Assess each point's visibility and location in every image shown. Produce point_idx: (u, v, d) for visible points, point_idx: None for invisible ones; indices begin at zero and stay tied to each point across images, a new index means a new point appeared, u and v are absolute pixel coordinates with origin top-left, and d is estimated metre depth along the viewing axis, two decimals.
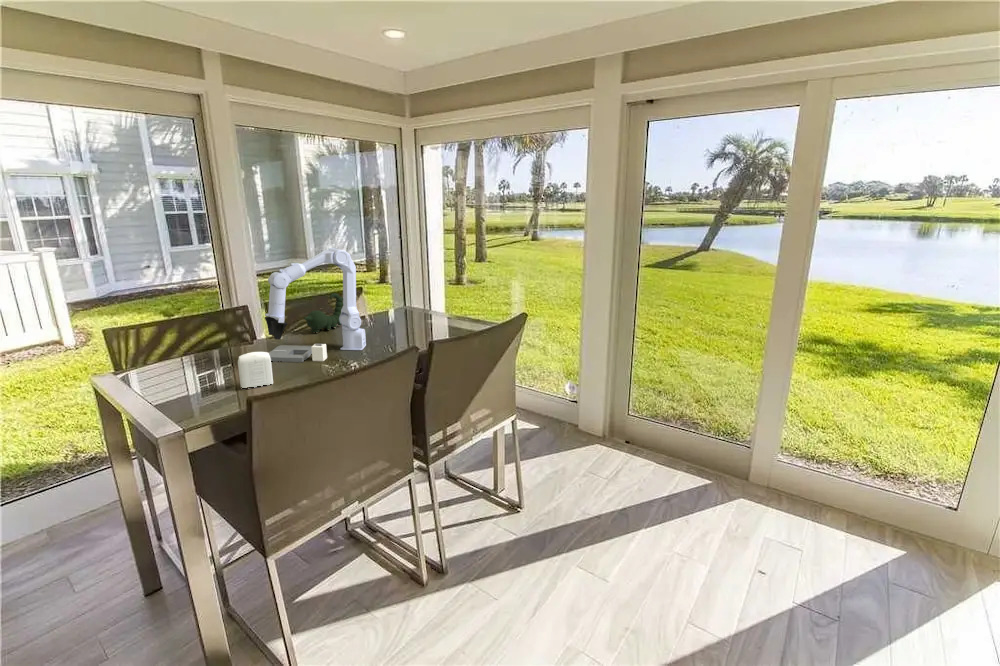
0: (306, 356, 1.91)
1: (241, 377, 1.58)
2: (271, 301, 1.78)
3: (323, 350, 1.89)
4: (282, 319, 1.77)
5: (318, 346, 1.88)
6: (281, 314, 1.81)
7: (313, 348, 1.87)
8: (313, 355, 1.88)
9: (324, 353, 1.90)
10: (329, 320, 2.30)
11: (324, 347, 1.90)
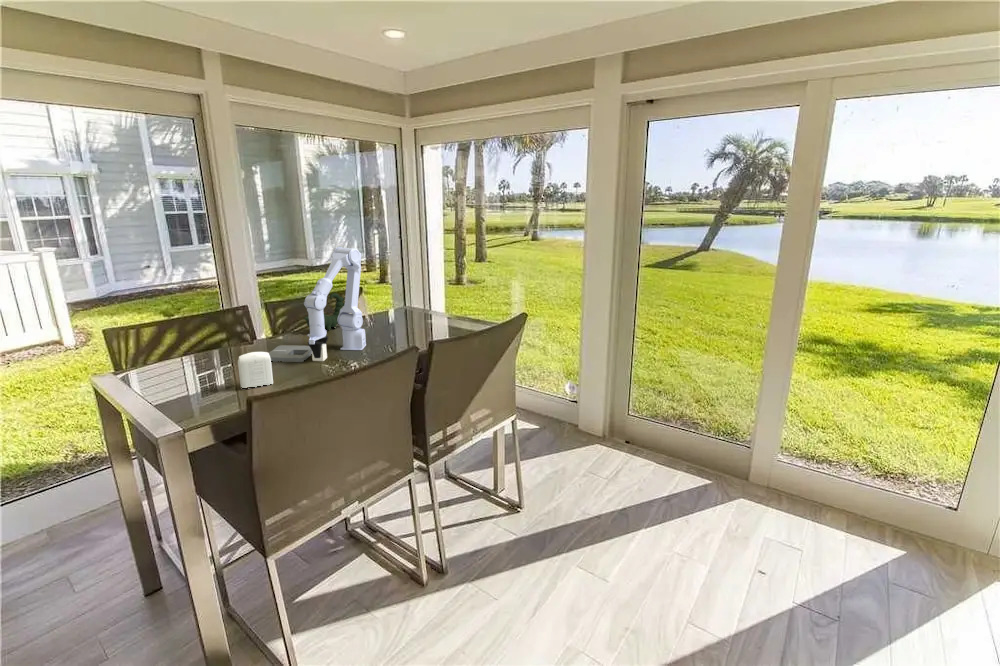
0: (306, 356, 1.91)
1: (241, 377, 1.58)
2: (314, 323, 1.84)
3: (323, 350, 1.89)
4: (312, 341, 1.81)
5: None
6: (318, 335, 1.85)
7: None
8: (313, 355, 1.88)
9: (324, 353, 1.90)
10: (329, 320, 2.30)
11: (324, 347, 1.90)
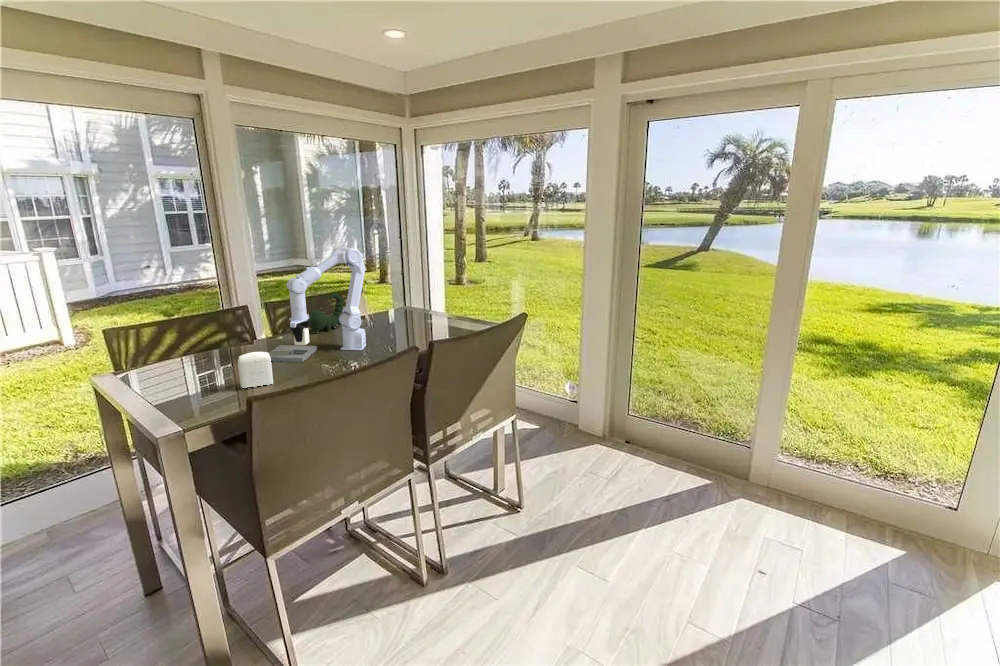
0: (306, 356, 1.91)
1: (241, 377, 1.58)
2: (293, 307, 1.84)
3: (305, 334, 1.89)
4: (293, 324, 1.81)
5: None
6: (299, 318, 1.86)
7: None
8: None
9: (306, 337, 1.90)
10: (329, 320, 2.30)
11: (306, 331, 1.90)
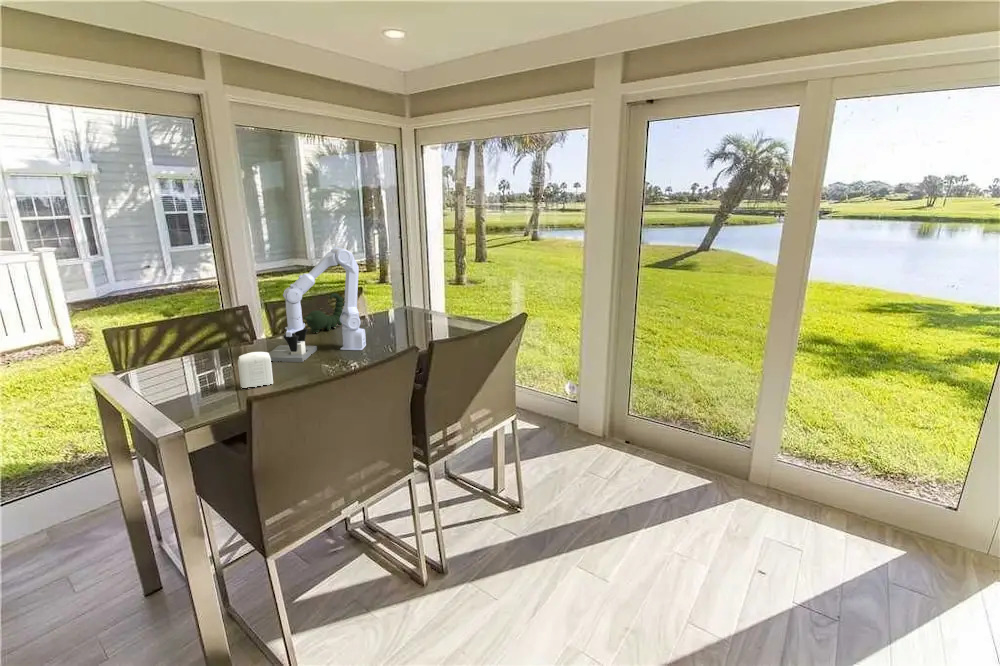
0: (306, 356, 1.91)
1: (241, 377, 1.58)
2: (288, 316, 1.86)
3: (302, 347, 1.91)
4: (288, 333, 1.83)
5: None
6: (295, 327, 1.87)
7: None
8: (292, 352, 1.91)
9: (303, 350, 1.92)
10: (329, 320, 2.30)
11: (303, 344, 1.92)
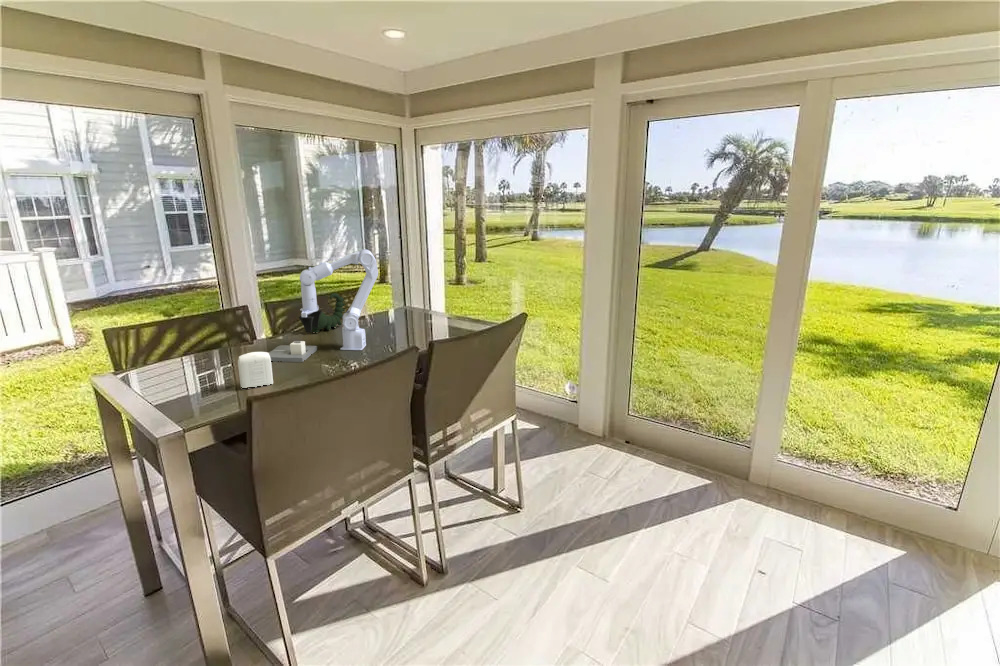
0: (306, 356, 1.91)
1: (241, 377, 1.58)
2: (302, 297, 1.93)
3: (302, 347, 1.91)
4: (304, 314, 1.89)
5: (297, 343, 1.90)
6: (310, 309, 1.94)
7: (292, 345, 1.90)
8: (292, 352, 1.91)
9: (303, 350, 1.92)
10: (329, 320, 2.30)
11: (303, 344, 1.92)
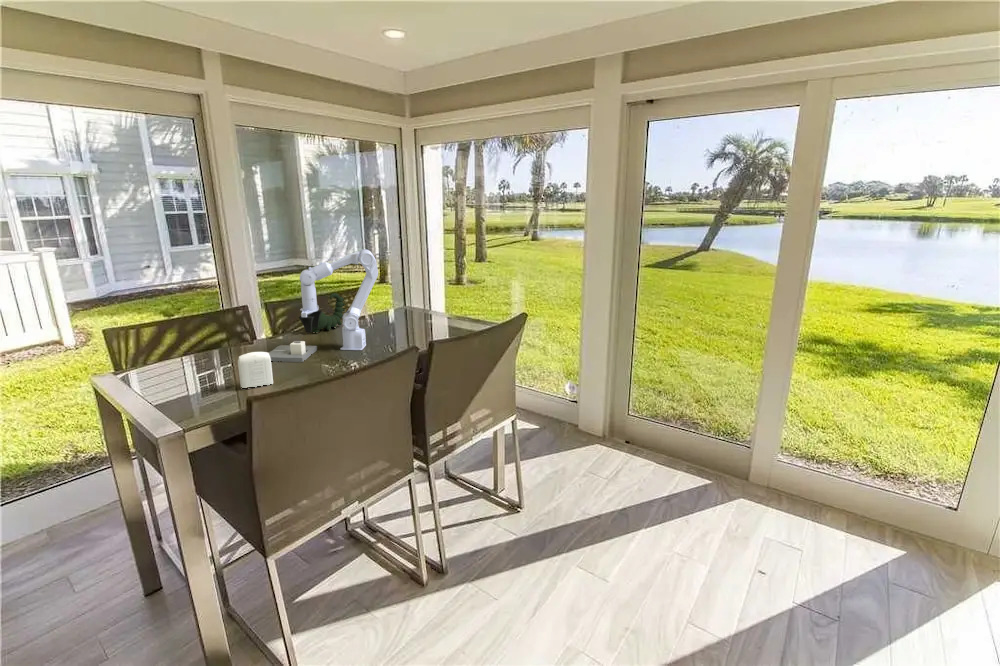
0: (306, 356, 1.91)
1: (241, 377, 1.58)
2: (302, 297, 1.93)
3: (302, 347, 1.91)
4: (304, 314, 1.89)
5: (297, 343, 1.90)
6: (310, 309, 1.94)
7: (292, 345, 1.90)
8: (292, 352, 1.91)
9: (303, 350, 1.92)
10: (329, 320, 2.30)
11: (303, 344, 1.92)
